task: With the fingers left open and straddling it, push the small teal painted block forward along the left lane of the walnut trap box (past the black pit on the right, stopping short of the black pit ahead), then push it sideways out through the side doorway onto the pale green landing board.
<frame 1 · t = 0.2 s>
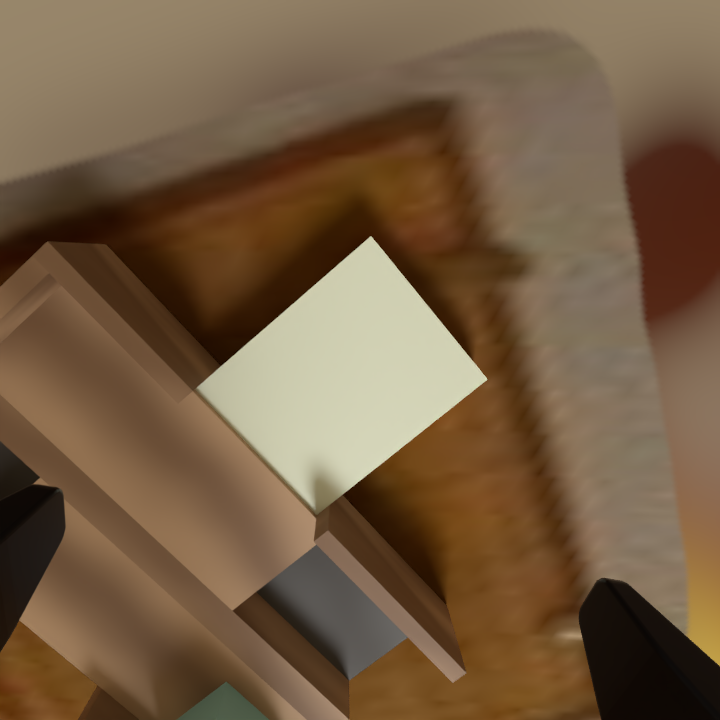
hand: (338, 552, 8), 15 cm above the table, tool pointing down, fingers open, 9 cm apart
trap box: (185, 540, 25), on the table
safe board: (342, 372, 23), on the table
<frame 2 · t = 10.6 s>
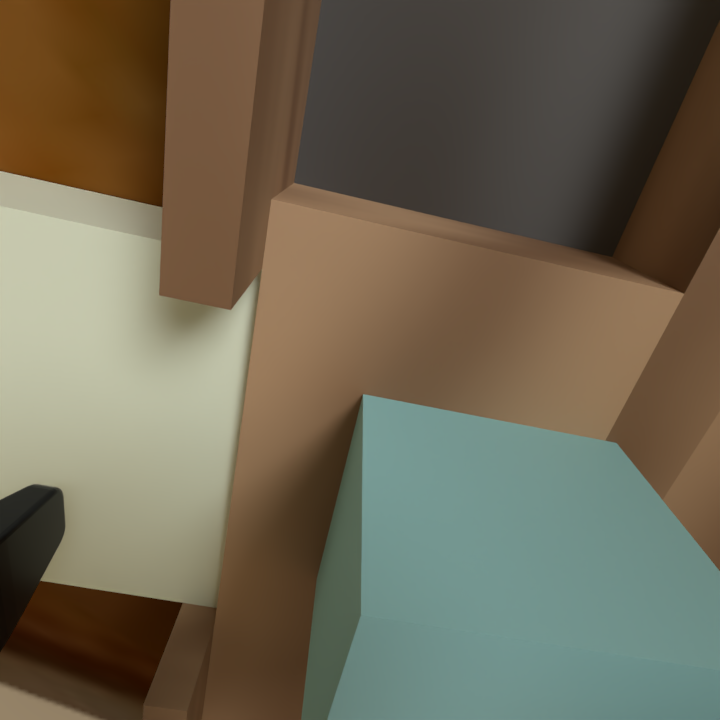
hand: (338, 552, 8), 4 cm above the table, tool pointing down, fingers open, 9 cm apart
block: (453, 517, 9), point 3 cm above the table
trap box: (573, 411, 11), on the table
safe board: (36, 364, 11), on the table
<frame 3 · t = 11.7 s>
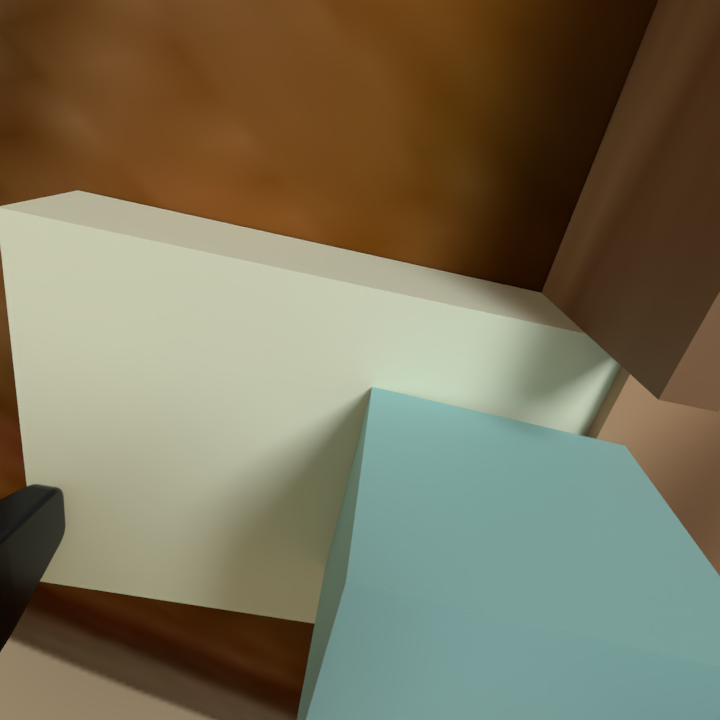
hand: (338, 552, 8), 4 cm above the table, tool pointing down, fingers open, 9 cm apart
block: (459, 513, 9), point 2 cm above the table, touching gripper, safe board, trap box
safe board: (305, 416, 11), on the table
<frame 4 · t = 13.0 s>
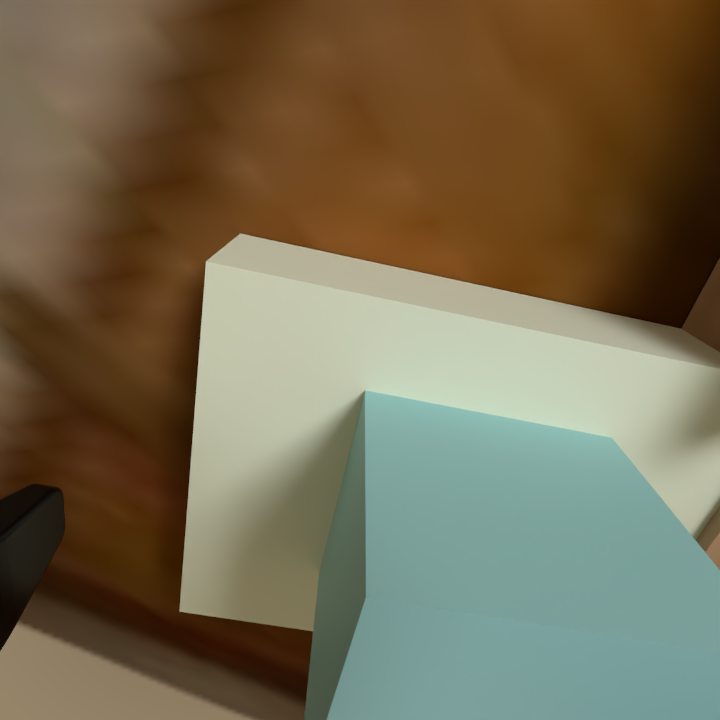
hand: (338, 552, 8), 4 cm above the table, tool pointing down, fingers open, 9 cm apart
block: (453, 511, 9), point 2 cm above the table, touching gripper, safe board
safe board: (433, 447, 11), on the table
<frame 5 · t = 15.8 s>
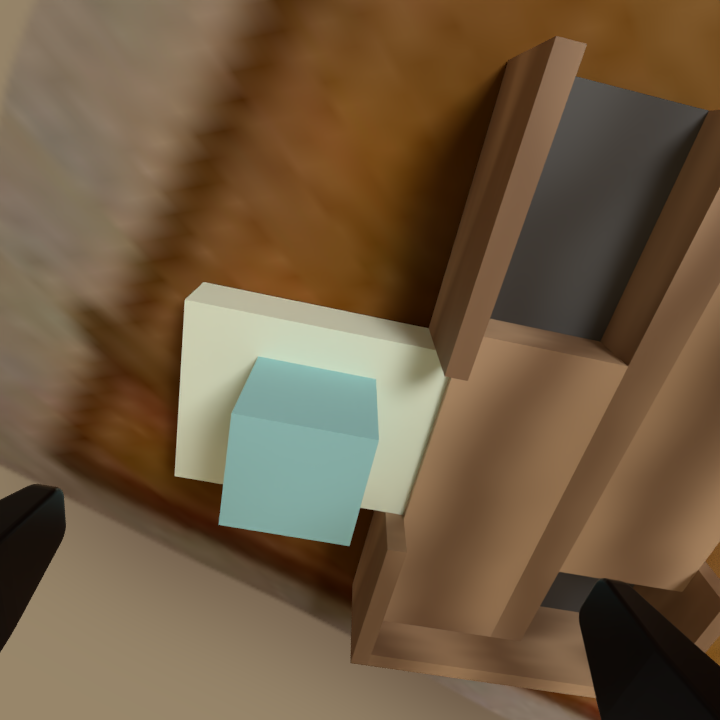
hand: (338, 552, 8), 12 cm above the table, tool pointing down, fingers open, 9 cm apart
block: (308, 417, 19), point 2 cm above the table, touching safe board
trap box: (581, 413, 21), on the table
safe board: (311, 392, 21), on the table
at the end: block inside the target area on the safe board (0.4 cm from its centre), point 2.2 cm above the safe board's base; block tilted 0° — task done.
